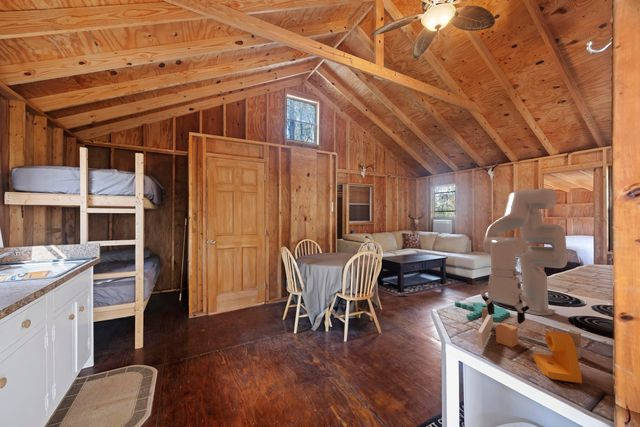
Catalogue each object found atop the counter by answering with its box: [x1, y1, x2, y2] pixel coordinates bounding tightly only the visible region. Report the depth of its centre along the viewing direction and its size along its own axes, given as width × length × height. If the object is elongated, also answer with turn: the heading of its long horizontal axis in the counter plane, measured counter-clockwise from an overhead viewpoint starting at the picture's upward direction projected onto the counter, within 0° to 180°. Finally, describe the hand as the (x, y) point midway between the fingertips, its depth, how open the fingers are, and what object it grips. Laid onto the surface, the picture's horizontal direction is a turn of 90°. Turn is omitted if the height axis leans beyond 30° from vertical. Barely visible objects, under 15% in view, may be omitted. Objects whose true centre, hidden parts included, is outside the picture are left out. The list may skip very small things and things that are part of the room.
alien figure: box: [454, 301, 511, 323], centre depth 125 cm, size 20×2×20 cm
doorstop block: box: [495, 322, 519, 348], centre depth 96 cm, size 5×5×6 cm
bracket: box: [533, 330, 583, 384], centre depth 77 cm, size 11×7×12 cm, turn 160°
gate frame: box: [481, 307, 583, 360], centre depth 97 cm, size 3×30×8 cm, turn 32°
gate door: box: [476, 314, 494, 349], centre depth 99 cm, size 2×24×6 cm, turn 138°
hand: (505, 318), depth 96 cm, fingers open, 9 cm apart
